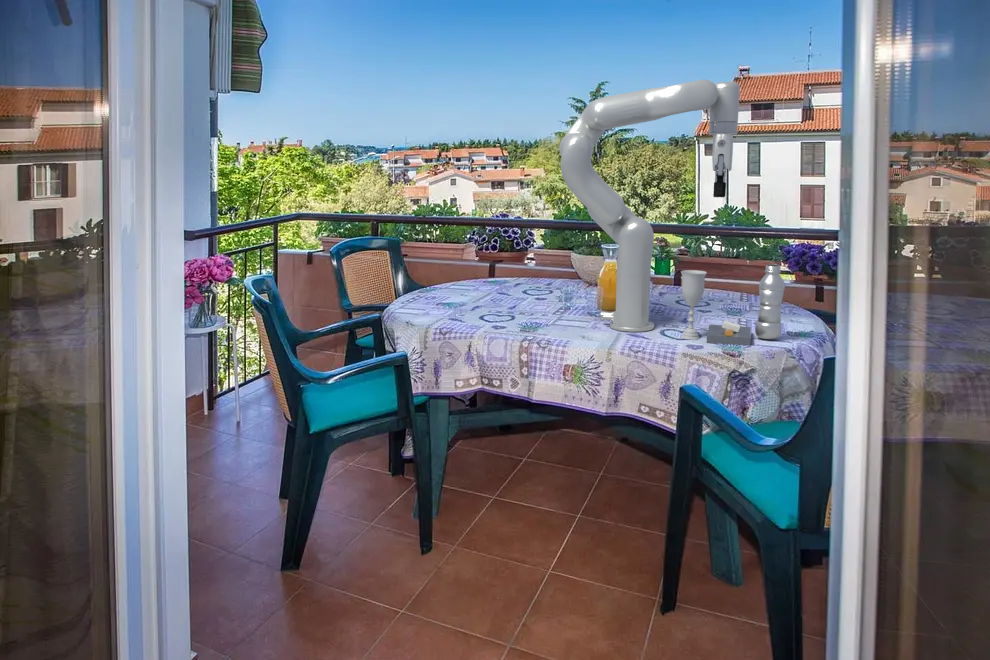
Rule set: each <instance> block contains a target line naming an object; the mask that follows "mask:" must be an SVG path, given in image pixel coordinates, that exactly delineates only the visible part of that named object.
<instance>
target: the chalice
mask: <svg viewBox="0 0 990 660" xmlns="http://www.w3.org/2000/svg"><path fill="white" fill-rule="evenodd" d="M680 273H681V274H680V275H681V293H682V296H683V298H684V302H685V303H686V305H687V306H689V312H688V315H689V318H688V319H687V321H688V323H689V324H688V326H687V328H684V330H683V332H682V335H681V337H680V338H681V339H683V338H684V340H689V339H690V341H693V340H694V341H695V340H700V339H701V337H700V335H699V333H698V330H697V329H696V328H694V325H693V323H694V322H695V319H694V316H695V312H694V308H695V307H696V306H698V304H699V303H700V301H701V299H702V297H703V295H704V292H705V284H706V283H705V281H706V280H705V279H706V278H705V277H706V275H707V274H708V272H707V271H704V270H697V269H695V270H694V269H685V270H684V269H683V270H681V271H680ZM699 338H700V339H699Z"/></svg>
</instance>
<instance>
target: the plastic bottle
mask: <svg viewBox="0 0 990 660" xmlns="http://www.w3.org/2000/svg"><path fill="white" fill-rule="evenodd" d="M781 271H782V270H781V265H780V264H772V263H771V264H766V265H765V270H764V272H765V274H764V275H763V277H762V278H761V279H760V281H759V284H758V291H759V292H758V293H759V306H758V307H759V309H758V314H757V315H758V316H757V321H756V323H755V329H754V330H755V331H754V332H755V335H756V337H757V338H759V339H763V340H767V339H770V340H776V339H779V338H780V336H781V333H782V323H781V319H782V318H781V312H782V311H781V309H782V303H783V297H784V292H785V289H786V284H785V281H784V279H783V277H782V276H781V273H782V272H781Z"/></svg>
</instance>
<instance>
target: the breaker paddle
mask: <svg viewBox="0 0 990 660" xmlns="http://www.w3.org/2000/svg"><path fill="white" fill-rule="evenodd" d="M731 322H732V321H727V320H725V319H724V320H723V321H722V324H721V325H722V328H726V329H733V331H735V332H738V331H739V329H740V324H737V323H735V322H734V323H731Z"/></svg>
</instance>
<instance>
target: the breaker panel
mask: <svg viewBox="0 0 990 660" xmlns="http://www.w3.org/2000/svg"><path fill="white" fill-rule="evenodd" d="M730 322H731V323H735V322H734V321H730ZM751 327H752V326H744V325H743V326H742V325H741V326H740V329H739V331H738V332H735V331H733V329H726V328H722V324H721V325H720V324H709V325H708V329H707V334H706V344H721V345H737V346H738V345H739V346H751V338H752V335H751V334H752V333H751V332H752V331H751Z"/></svg>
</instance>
